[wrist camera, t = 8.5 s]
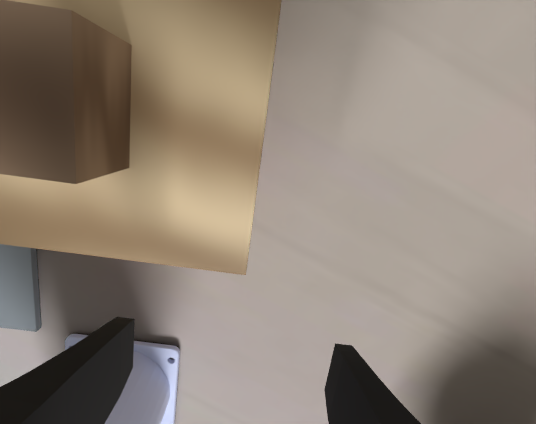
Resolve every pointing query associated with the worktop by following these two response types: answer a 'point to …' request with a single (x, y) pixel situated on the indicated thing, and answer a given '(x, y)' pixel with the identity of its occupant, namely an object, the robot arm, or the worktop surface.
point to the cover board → (134, 127)
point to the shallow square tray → (19, 288)
